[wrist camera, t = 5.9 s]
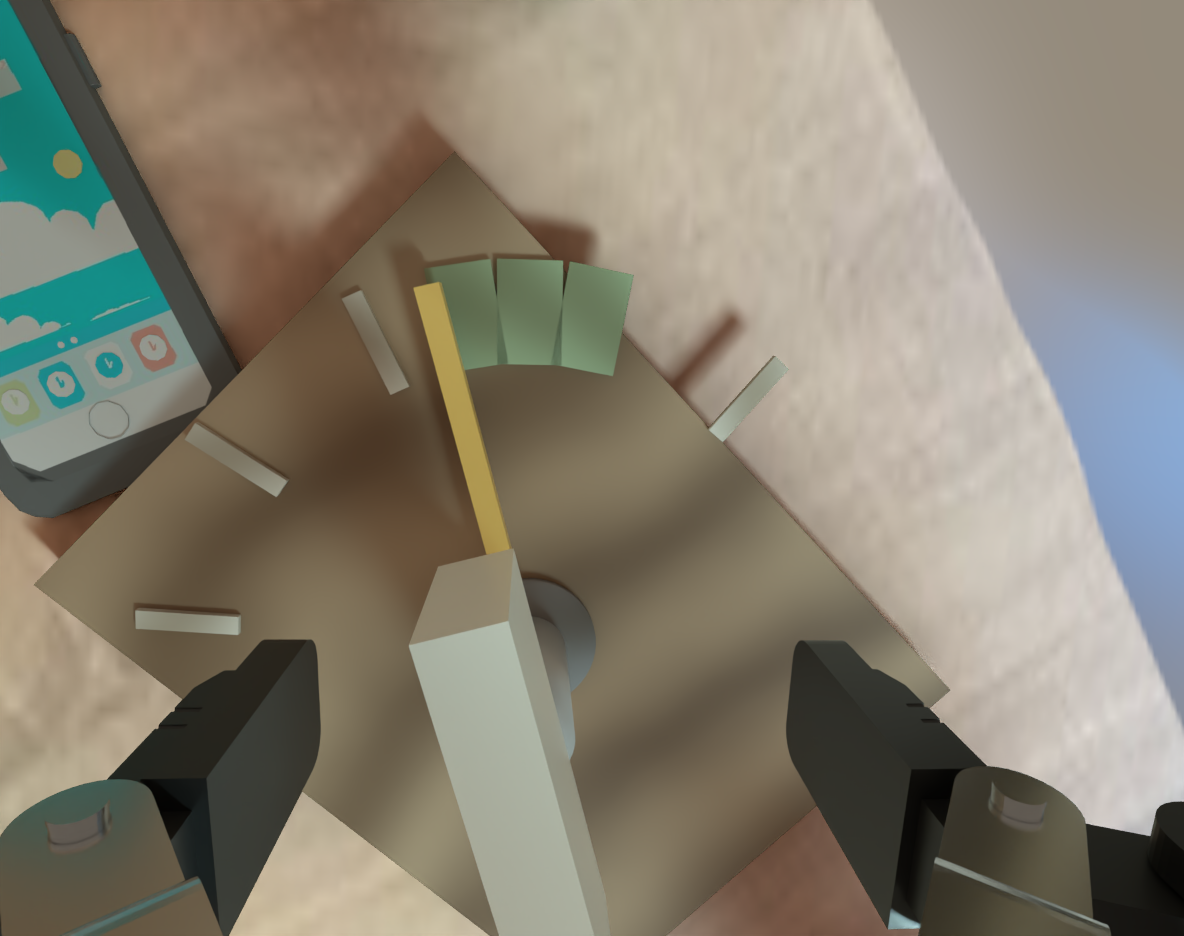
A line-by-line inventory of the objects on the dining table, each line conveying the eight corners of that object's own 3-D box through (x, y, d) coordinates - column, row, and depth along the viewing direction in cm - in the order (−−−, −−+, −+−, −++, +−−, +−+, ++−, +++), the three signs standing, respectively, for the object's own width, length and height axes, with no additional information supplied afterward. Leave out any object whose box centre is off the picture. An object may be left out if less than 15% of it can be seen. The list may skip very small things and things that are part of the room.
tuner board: (987, 615, 26) (1021, 637, 24) (580, 970, 27) (583, 1015, 26) (530, 90, 20) (530, 69, 19) (66, 567, 22) (26, 588, 21)
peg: (598, 775, 23) (639, 1046, 14) (528, 794, 23) (527, 1076, 14) (471, 276, 19) (425, 243, 11) (387, 295, 19) (272, 276, 11)
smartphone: (13, 534, 21) (-313, 24, 18) (35, 524, 22) (-270, 39, 19) (271, 428, 21) (-5, -100, 18) (281, 423, 22) (22, -79, 19)
